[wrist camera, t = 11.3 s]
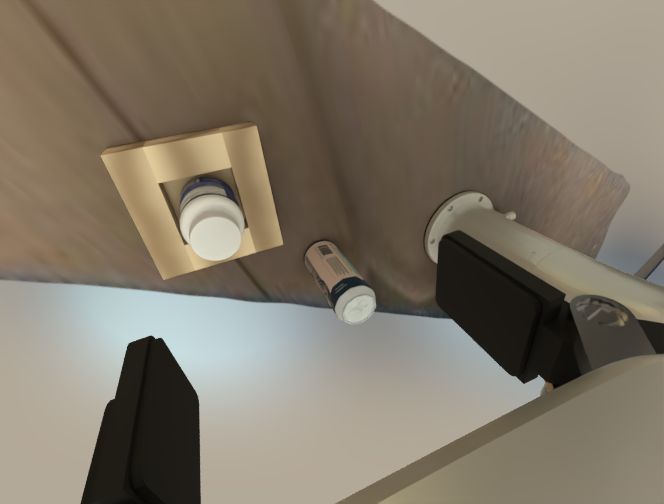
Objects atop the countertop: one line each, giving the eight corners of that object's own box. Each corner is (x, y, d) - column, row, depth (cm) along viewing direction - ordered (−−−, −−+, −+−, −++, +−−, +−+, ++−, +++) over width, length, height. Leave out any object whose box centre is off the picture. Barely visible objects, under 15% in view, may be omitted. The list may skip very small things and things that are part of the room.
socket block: (251, 121, 32) (256, 125, 29) (277, 233, 39) (283, 244, 36) (107, 147, 28) (100, 155, 26) (164, 265, 35) (163, 279, 33)
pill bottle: (235, 221, 36) (251, 265, 28) (183, 224, 33) (183, 272, 26) (233, 173, 33) (249, 207, 25) (176, 173, 31) (174, 210, 23)
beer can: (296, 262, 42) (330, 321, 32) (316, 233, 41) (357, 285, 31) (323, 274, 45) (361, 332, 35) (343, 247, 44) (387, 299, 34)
